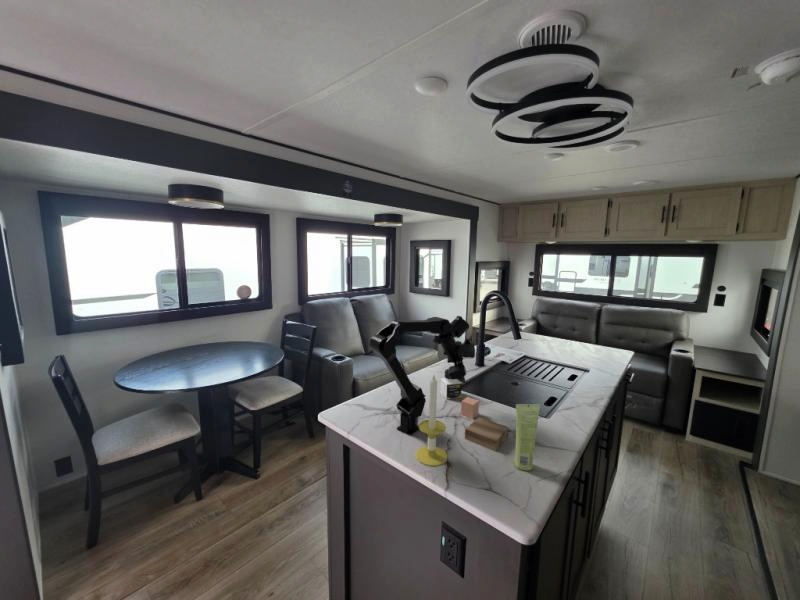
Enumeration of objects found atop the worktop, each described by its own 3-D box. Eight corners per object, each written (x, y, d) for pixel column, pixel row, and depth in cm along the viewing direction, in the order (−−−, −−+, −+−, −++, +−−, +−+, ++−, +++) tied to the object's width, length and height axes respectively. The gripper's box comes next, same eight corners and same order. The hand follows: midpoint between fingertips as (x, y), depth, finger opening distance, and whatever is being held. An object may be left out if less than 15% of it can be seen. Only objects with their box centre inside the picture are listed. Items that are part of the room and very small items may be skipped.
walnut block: (495, 452, 102) (496, 441, 102) (464, 439, 109) (465, 429, 109) (508, 438, 111) (508, 427, 110) (478, 427, 118) (479, 416, 117)
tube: (519, 457, 99) (523, 398, 97) (535, 465, 96) (540, 403, 93) (511, 466, 95) (515, 404, 92) (528, 474, 92) (533, 410, 89)
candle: (430, 443, 106) (432, 365, 103) (454, 457, 99) (457, 374, 95) (408, 454, 100) (410, 372, 96) (432, 470, 92) (435, 382, 89)
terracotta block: (472, 419, 122) (473, 404, 122) (460, 415, 126) (461, 401, 125) (478, 414, 126) (478, 400, 125) (466, 410, 129) (467, 396, 129)
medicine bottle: (446, 399, 139) (447, 373, 138) (440, 393, 146) (441, 368, 145) (461, 398, 141) (462, 372, 140) (454, 391, 148) (455, 366, 147)
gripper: (472, 354, 111) (486, 386, 117) (467, 325, 127) (479, 354, 133) (442, 363, 114) (457, 393, 120) (441, 333, 130) (454, 361, 136)
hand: (463, 374), depth 127 cm, fingers open, 9 cm apart
